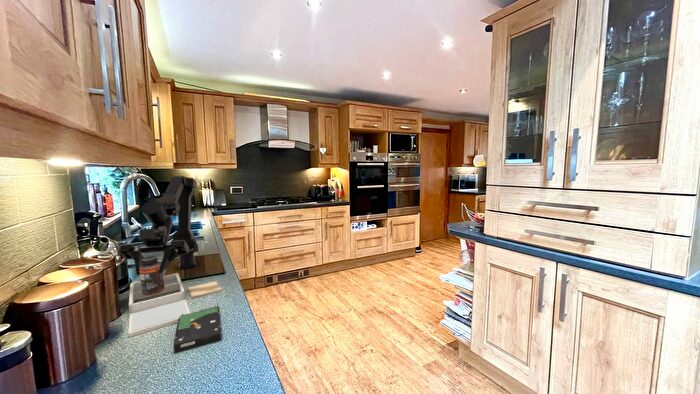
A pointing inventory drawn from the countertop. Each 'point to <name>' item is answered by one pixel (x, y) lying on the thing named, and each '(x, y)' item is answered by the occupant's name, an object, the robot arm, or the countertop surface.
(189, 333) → the disk drive
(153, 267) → the supplement bottle
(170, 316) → the equipment case
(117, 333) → the countertop surface
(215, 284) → the cork mat
